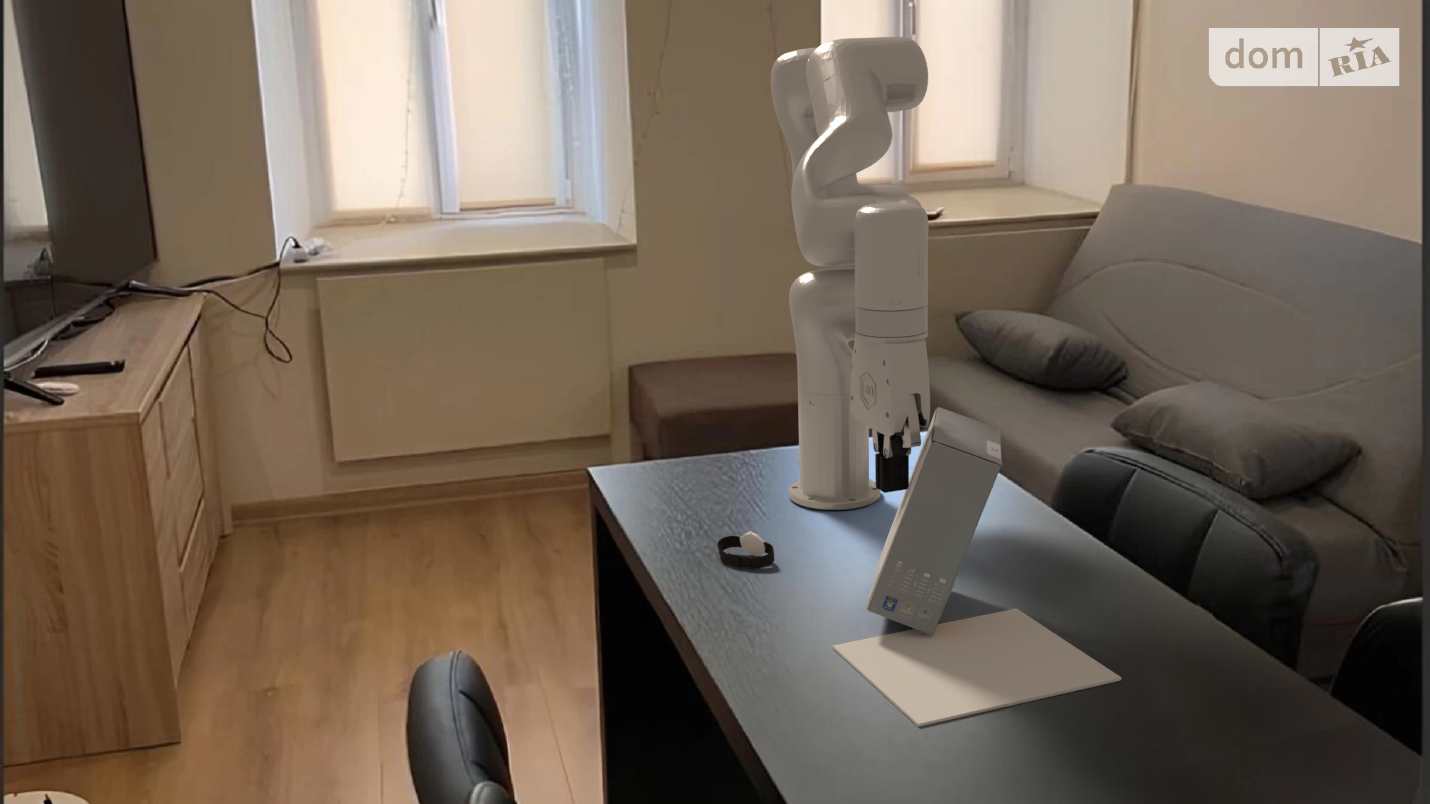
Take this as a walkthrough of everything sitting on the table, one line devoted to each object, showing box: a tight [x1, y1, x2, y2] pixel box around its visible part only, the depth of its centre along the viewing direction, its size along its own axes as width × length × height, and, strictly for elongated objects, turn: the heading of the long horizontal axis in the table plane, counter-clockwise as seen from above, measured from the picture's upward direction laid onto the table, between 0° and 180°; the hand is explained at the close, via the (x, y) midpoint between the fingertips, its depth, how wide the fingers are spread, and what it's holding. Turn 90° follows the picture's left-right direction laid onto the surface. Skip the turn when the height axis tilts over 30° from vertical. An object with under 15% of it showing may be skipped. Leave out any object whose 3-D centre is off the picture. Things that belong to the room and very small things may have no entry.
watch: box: [717, 530, 775, 569], centre depth 159 cm, size 8×5×4 cm, turn 54°
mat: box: [832, 608, 1122, 728], centre depth 130 cm, size 18×22×1 cm
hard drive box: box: [865, 406, 1003, 635], centre depth 140 cm, size 16×8×20 cm, turn 168°
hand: (892, 488), depth 142 cm, fingers closed
